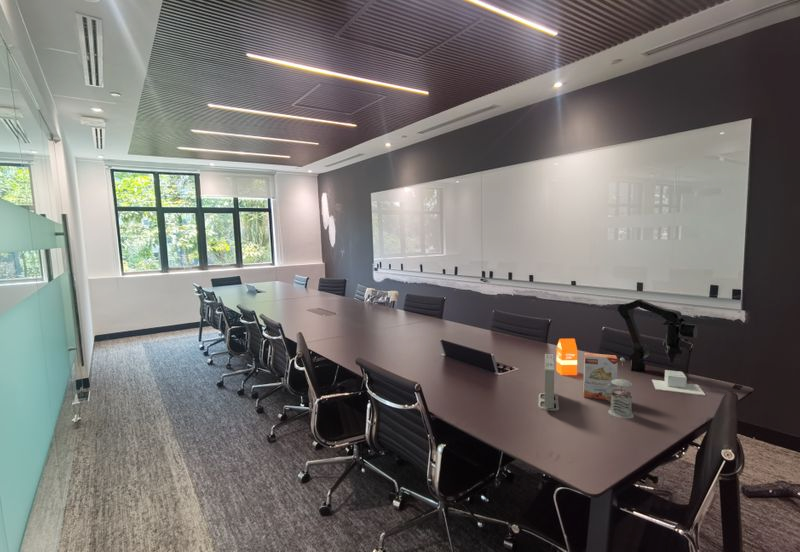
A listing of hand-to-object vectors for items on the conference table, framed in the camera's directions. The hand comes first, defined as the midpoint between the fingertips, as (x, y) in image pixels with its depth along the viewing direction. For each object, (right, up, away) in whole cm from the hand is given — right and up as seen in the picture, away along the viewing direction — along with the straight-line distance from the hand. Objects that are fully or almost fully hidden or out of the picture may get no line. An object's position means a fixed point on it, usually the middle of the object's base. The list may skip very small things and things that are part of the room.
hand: (671, 362), depth 211 cm
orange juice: (-51, -9, +13) cm, 54 cm away
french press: (-51, -14, -40) cm, 66 cm away
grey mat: (-6, -10, -13) cm, 17 cm away
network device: (-77, -13, -27) cm, 83 cm away
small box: (-2, -6, -5) cm, 8 cm away
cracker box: (-51, -12, -23) cm, 57 cm away
